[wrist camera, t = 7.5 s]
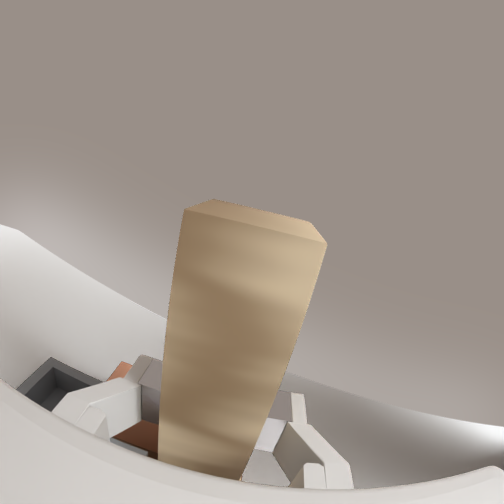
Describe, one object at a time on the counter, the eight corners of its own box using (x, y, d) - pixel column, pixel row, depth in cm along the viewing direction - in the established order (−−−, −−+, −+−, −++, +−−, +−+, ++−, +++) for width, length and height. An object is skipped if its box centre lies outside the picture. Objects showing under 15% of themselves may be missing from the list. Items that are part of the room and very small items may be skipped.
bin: (134, 419, 21) (133, 394, 20) (66, 550, 7) (50, 538, 6) (56, 383, 22) (50, 356, 21) (-29, 481, 7) (-49, 456, 6)
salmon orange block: (176, 411, 17) (179, 380, 17) (158, 453, 14) (159, 424, 13) (122, 392, 17) (121, 361, 17) (98, 429, 14) (93, 398, 13)
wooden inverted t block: (242, 421, 18) (306, 208, 14) (212, 609, 4) (535, 476, 1) (185, 407, 18) (226, 189, 14) (119, 585, 4) (-108, 304, 1)
